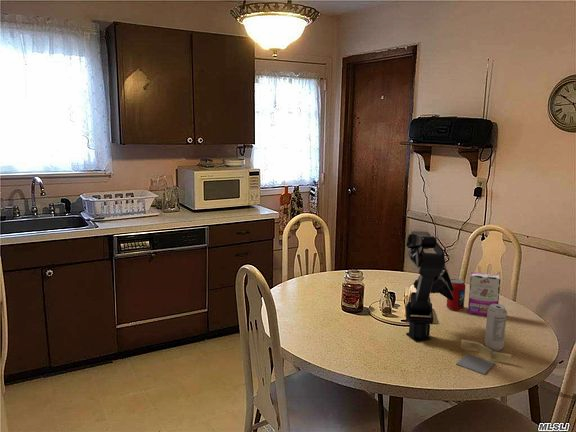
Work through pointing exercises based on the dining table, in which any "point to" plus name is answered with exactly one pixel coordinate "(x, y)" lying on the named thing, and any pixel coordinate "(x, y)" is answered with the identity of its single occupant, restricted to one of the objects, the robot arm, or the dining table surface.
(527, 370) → the dining table surface
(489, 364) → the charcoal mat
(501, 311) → the energy drink can
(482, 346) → the zigzag wooden bar
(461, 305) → the beverage can
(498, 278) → the candy bar box
